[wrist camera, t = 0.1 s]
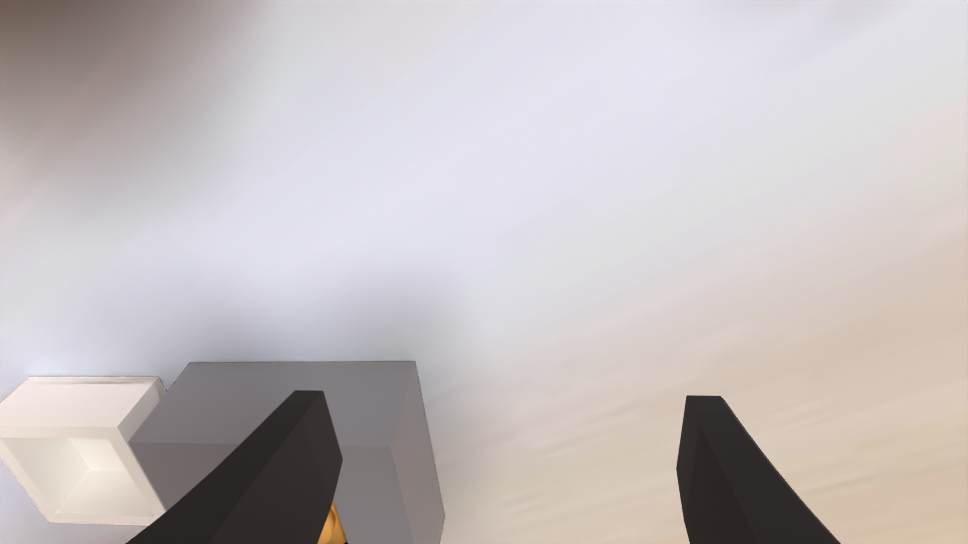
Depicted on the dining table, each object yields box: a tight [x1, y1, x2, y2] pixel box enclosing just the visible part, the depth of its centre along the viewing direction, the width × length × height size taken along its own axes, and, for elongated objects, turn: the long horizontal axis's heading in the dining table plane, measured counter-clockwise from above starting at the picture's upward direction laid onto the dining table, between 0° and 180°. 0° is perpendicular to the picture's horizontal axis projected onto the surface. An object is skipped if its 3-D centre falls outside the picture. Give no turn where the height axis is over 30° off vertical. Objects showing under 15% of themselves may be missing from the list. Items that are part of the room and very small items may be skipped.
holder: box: [0, 376, 167, 526], centre depth 27 cm, size 6×6×3 cm
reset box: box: [128, 361, 445, 544], centre depth 26 cm, size 10×10×4 cm
